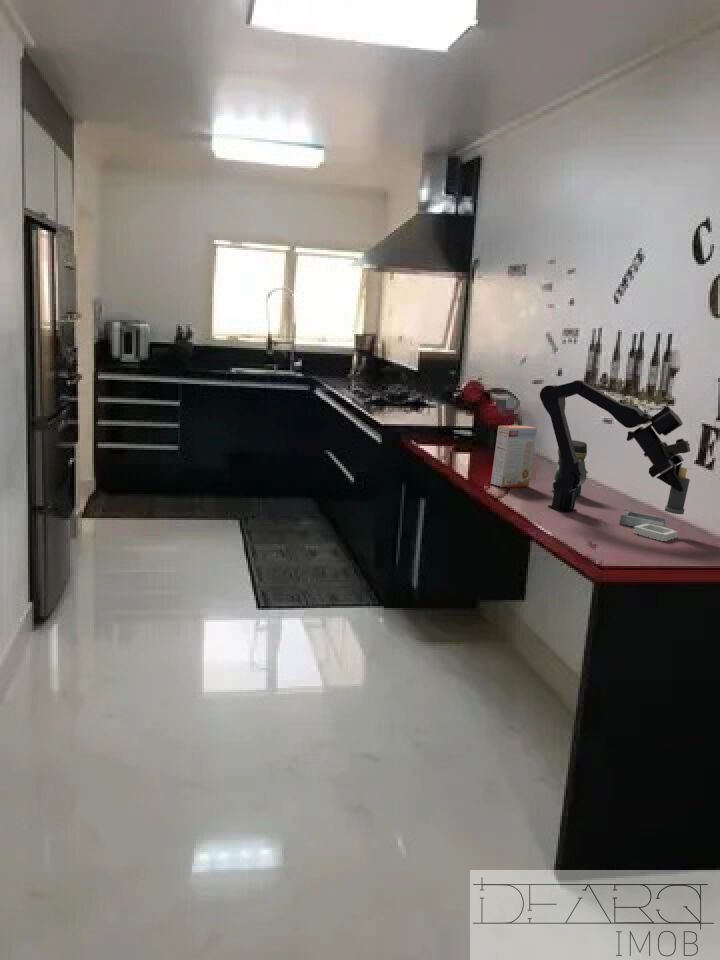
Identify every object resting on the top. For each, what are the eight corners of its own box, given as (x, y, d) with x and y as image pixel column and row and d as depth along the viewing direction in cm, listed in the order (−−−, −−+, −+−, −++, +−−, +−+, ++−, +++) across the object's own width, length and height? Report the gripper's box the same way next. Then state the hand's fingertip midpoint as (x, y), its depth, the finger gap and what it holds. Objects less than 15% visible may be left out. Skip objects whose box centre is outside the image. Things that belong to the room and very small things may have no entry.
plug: (673, 514, 227) (683, 469, 224) (660, 509, 231) (669, 465, 229) (687, 514, 229) (697, 470, 226) (674, 509, 233) (683, 466, 231)
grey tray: (619, 524, 236) (620, 515, 236) (623, 518, 244) (625, 510, 244) (661, 532, 231) (663, 523, 231) (664, 527, 239) (666, 518, 239)
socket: (664, 541, 220) (665, 534, 220) (633, 533, 226) (634, 526, 226) (677, 537, 227) (678, 531, 227) (646, 529, 233) (647, 523, 233)
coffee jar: (576, 492, 278) (585, 440, 275) (582, 497, 271) (591, 443, 267) (549, 489, 279) (557, 437, 275) (553, 494, 271) (562, 440, 267)
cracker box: (516, 483, 284) (525, 425, 280) (529, 486, 279) (538, 427, 275) (488, 484, 276) (497, 424, 271) (501, 488, 271) (510, 427, 267)
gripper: (669, 431, 219) (703, 478, 216) (682, 427, 235) (714, 471, 232) (634, 453, 225) (667, 500, 222) (650, 448, 241) (680, 491, 237)
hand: (683, 490), depth 228 cm, fingers closed on plug, 4 cm apart
